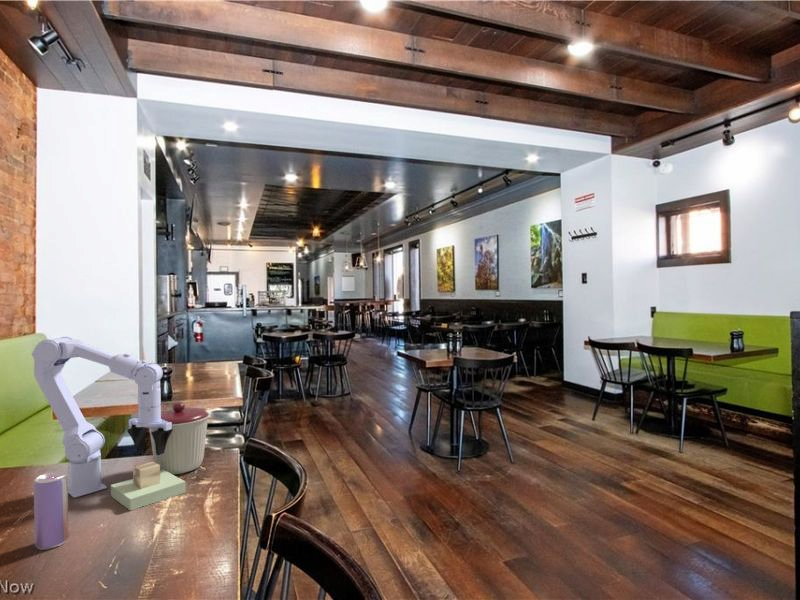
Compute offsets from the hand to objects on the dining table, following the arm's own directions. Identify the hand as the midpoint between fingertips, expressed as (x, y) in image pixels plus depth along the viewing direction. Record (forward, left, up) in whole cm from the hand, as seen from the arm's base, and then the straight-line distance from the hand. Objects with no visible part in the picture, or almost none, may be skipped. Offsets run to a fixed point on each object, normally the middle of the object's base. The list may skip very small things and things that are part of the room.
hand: (150, 452), depth 132 cm
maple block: (+6, -3, -6) cm, 9 cm away
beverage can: (+16, -27, -10) cm, 33 cm away
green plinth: (+6, -3, -9) cm, 12 cm away
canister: (-6, +11, -10) cm, 16 cm away
